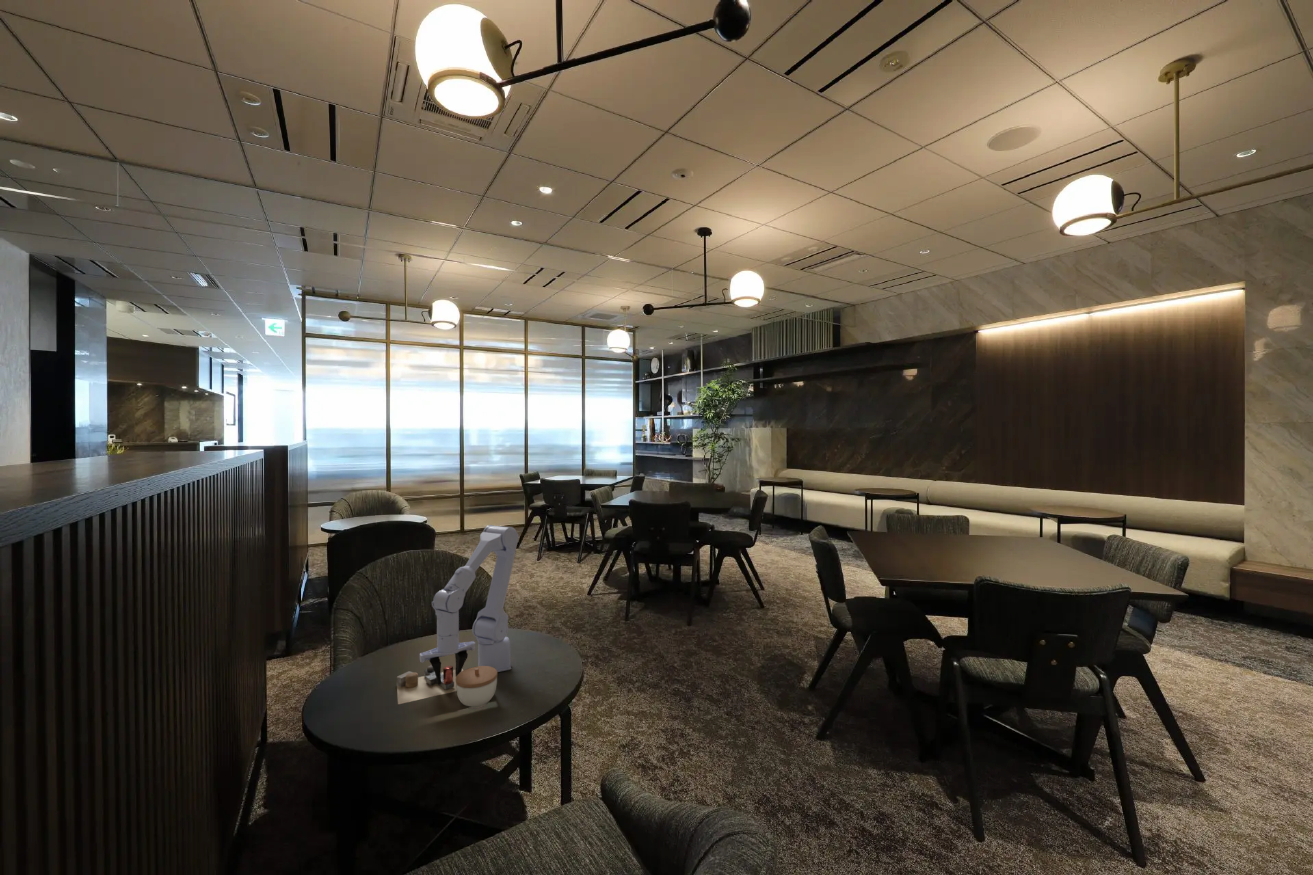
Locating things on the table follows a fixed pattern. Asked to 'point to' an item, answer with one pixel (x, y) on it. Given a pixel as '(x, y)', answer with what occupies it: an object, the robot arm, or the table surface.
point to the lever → (445, 677)
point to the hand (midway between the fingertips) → (448, 680)
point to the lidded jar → (476, 686)
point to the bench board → (420, 688)
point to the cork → (411, 680)
